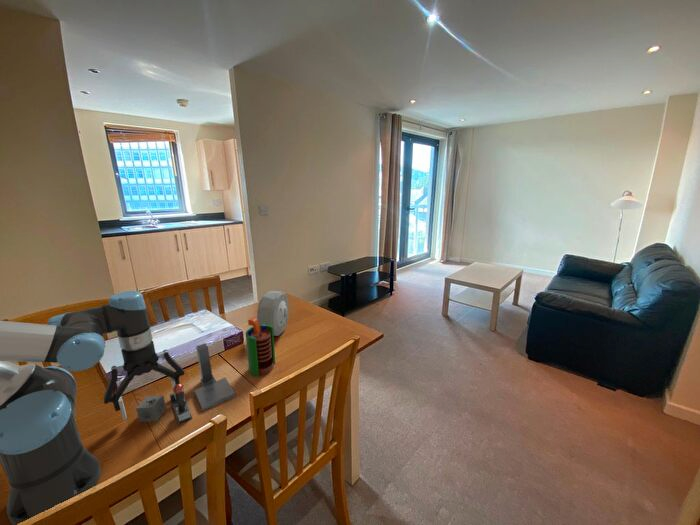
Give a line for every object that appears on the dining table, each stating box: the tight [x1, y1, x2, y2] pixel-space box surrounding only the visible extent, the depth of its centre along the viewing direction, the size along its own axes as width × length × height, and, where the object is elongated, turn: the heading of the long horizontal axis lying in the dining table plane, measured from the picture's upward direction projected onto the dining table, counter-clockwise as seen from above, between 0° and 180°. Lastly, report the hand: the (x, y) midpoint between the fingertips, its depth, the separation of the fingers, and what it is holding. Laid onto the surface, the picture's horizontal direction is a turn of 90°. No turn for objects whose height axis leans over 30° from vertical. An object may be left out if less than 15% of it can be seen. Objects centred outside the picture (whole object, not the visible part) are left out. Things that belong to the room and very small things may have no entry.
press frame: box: [169, 342, 236, 425], centre depth 95 cm, size 17×16×14 cm
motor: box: [245, 317, 276, 378], centre depth 109 cm, size 10×9×20 cm
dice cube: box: [135, 395, 167, 423], centre depth 89 cm, size 5×5×5 cm
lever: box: [172, 382, 192, 422], centre depth 87 cm, size 3×4×11 cm
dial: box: [256, 290, 290, 337], centre depth 135 cm, size 20×12×20 cm, turn 171°
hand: (151, 406), depth 90 cm, fingers open, 12 cm apart
